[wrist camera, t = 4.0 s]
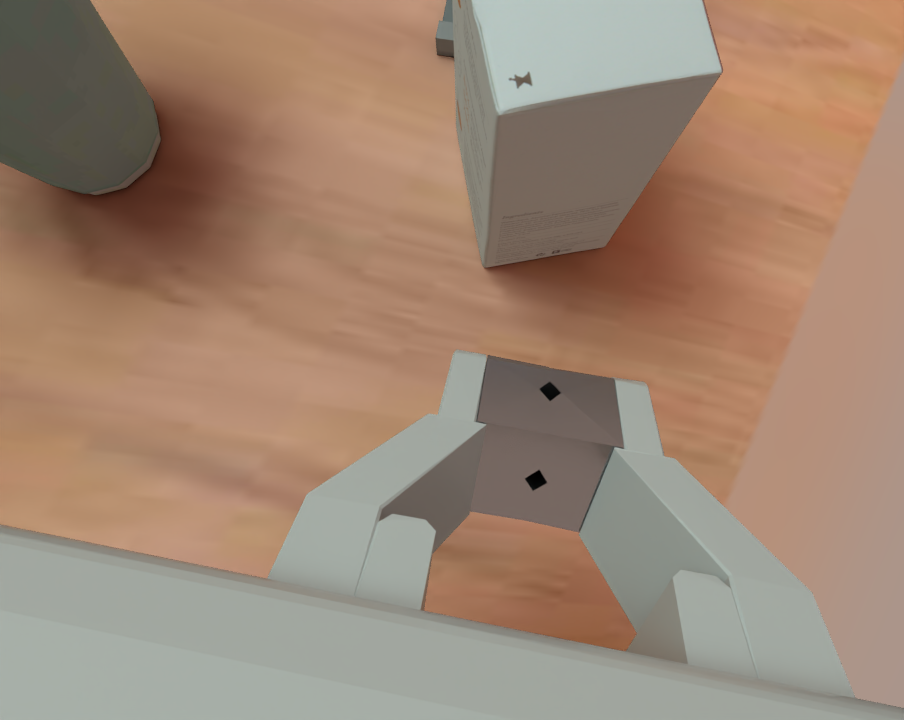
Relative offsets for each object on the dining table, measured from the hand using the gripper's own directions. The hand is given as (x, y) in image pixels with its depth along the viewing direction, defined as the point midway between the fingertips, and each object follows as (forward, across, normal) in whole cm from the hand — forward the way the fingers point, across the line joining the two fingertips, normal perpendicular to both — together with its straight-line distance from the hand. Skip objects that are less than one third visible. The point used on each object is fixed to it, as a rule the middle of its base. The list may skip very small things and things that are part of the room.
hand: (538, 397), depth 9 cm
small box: (+21, 0, -4) cm, 22 cm away
